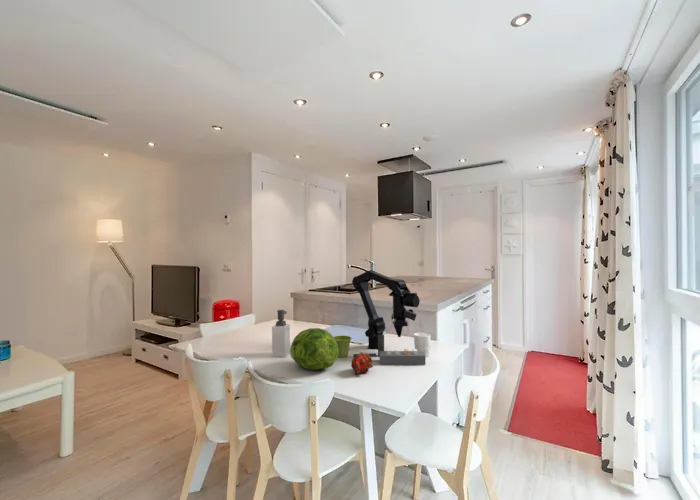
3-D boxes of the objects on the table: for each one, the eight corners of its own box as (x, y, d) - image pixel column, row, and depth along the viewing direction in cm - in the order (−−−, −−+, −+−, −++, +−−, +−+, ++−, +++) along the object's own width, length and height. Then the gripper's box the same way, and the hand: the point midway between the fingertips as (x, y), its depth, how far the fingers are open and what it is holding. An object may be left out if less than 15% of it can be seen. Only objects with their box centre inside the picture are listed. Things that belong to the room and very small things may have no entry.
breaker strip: (380, 364, 148) (379, 352, 148) (379, 359, 155) (379, 347, 155) (425, 364, 146) (425, 352, 146) (422, 359, 153) (422, 347, 153)
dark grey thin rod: (353, 357, 158) (353, 354, 158) (353, 356, 160) (352, 353, 160) (376, 356, 159) (376, 353, 159) (376, 355, 161) (375, 353, 161)
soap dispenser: (291, 351, 168) (291, 308, 168) (284, 357, 160) (284, 311, 160) (279, 351, 170) (279, 308, 170) (272, 356, 161) (271, 311, 161)
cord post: (378, 356, 159) (377, 335, 159) (378, 354, 162) (377, 334, 162) (384, 356, 158) (384, 335, 158) (384, 354, 161) (383, 334, 161)
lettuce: (307, 338, 163) (282, 322, 150) (347, 335, 151) (323, 318, 139) (298, 376, 152) (271, 362, 140) (340, 376, 140) (314, 361, 128)
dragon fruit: (370, 371, 144) (357, 384, 134) (356, 357, 147) (341, 370, 137) (380, 358, 141) (366, 371, 130) (364, 344, 144) (350, 356, 133)
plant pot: (354, 354, 163) (354, 336, 163) (346, 359, 155) (346, 341, 155) (337, 351, 167) (337, 334, 167) (328, 357, 159) (328, 339, 159)
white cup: (431, 358, 156) (430, 336, 156) (414, 357, 157) (413, 336, 157) (430, 353, 163) (430, 332, 163) (414, 352, 165) (414, 332, 165)
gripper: (418, 308, 154) (418, 342, 154) (412, 302, 173) (412, 332, 172) (394, 308, 154) (394, 342, 154) (390, 302, 173) (391, 332, 173)
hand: (399, 336), depth 163 cm, fingers closed
